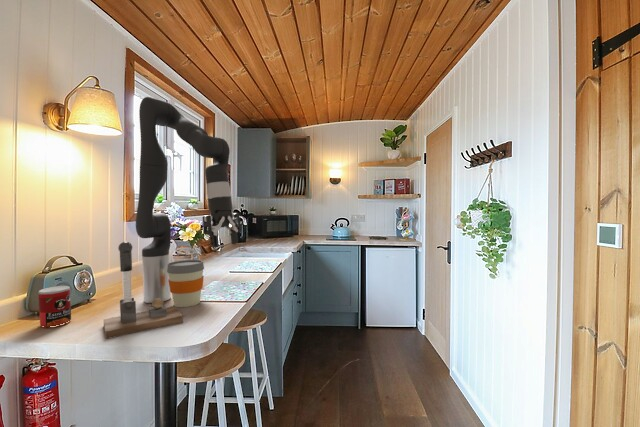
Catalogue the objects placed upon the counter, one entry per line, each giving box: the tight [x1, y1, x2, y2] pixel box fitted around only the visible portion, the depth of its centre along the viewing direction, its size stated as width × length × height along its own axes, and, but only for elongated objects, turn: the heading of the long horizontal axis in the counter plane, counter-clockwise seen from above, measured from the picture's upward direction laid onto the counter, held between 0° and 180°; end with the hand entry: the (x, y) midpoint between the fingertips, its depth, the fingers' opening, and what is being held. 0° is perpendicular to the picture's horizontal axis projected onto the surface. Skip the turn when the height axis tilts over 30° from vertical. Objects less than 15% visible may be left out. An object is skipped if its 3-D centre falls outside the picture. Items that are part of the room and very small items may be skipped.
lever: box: [117, 241, 133, 303], centre depth 98 cm, size 4×4×20 cm
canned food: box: [38, 285, 72, 327], centre depth 103 cm, size 8×8×11 cm
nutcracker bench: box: [103, 297, 184, 339], centre depth 101 cm, size 12×20×8 cm, turn 125°
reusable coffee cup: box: [167, 259, 205, 308], centre depth 121 cm, size 13×13×15 cm
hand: (225, 245), depth 109 cm, fingers open, 8 cm apart
